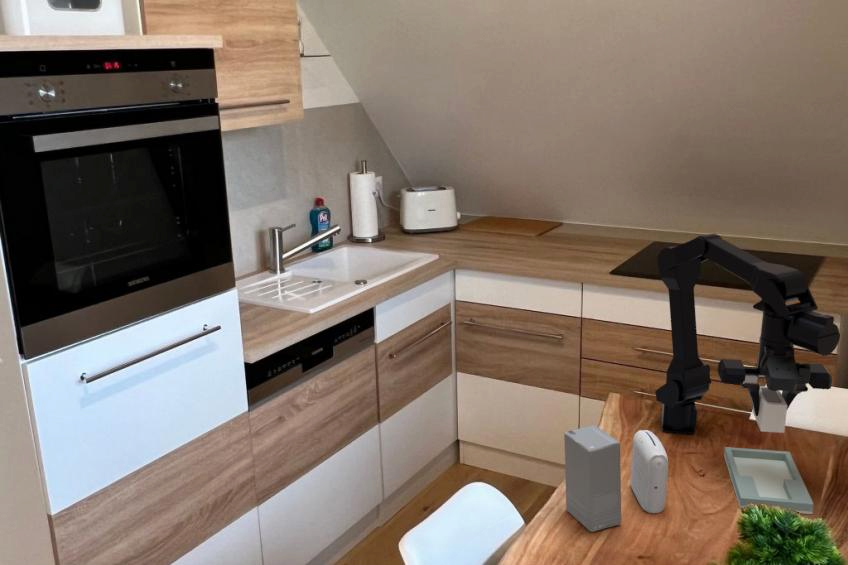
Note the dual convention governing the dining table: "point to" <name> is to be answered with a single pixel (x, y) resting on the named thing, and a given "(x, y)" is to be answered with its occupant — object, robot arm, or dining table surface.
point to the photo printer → (649, 471)
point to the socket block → (771, 411)
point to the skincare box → (593, 477)
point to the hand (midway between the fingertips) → (768, 416)
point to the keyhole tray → (767, 479)
